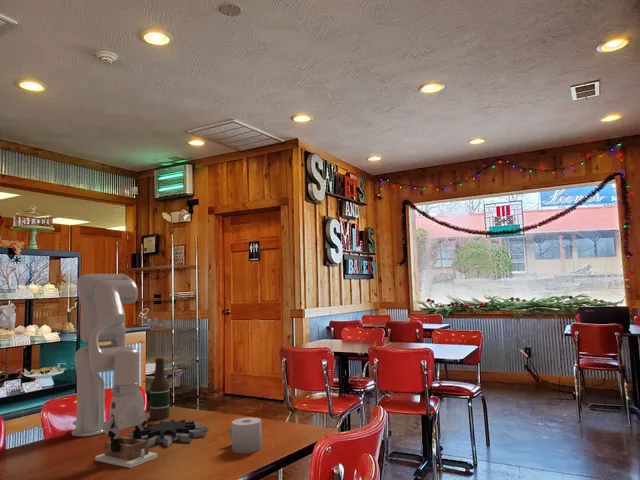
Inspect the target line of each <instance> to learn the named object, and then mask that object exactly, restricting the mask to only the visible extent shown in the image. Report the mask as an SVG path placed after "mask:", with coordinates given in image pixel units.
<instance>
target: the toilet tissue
mask: <svg viewBox="0 0 640 480" xmlns="http://www.w3.org/2000/svg"><path fill="white" fill-rule="evenodd" d="M230 424H231V427H230V428H229V429H228V430H226V432H227V434H228V436H229V437H230V438H231V451H232V452H233V453H234V454H243V455H245V454H253V453H256V452H258V451H260V450H261V449H262V448H263V439H262V437H263V436H262V434H263V433H262V431H263V430H262V419H260V418H258V417H251V416H250V417H240V418H236V419H233V421H231V423H230Z"/></svg>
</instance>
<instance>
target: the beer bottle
mask: <svg viewBox="0 0 640 480" xmlns="http://www.w3.org/2000/svg"><path fill="white" fill-rule="evenodd" d="M154 362H155V364H154V365H155V368H154V378H153V379H152V381H151V383H150V387H149V418H150V420H153V421H157V420H158V421H159V420H160V421H163V420H165V419H168V418H169V417H170V412H171V411H170V409H171V408H170V404H171V403H170V402H171V401H170V399H171V397H170V395H171V394H170V391H171V390H170V383H169V380H168V379H167V378H166V376H165V358H164V357H157V358H154Z"/></svg>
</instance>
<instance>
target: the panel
mask: <svg viewBox="0 0 640 480" xmlns="http://www.w3.org/2000/svg"><path fill="white" fill-rule="evenodd" d="M157 458H158V453H157V452H151V451H148V455H145V456H144V449H141V457H140V458H137V459H134V460H132V461H130V460H125V459H120V458H115V457H110V456H106V455H105V452H104V453H102V454H99V455H96V456H95V461H97V462H101V463H105V464H110V465H115V466H121V467H123V468H129V469H131V468H135V467H136V466H137V467H138V466H139V465H143V464H144V463H146V462H149V461H152V460H156V459H157Z"/></svg>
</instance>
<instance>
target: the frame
mask: <svg viewBox="0 0 640 480" xmlns="http://www.w3.org/2000/svg"><path fill="white" fill-rule="evenodd" d="M118 438H119V439H120V451H119V452H112V451H111V439H110V440H107V441H104V453H105V455H106V456H110V457H115V458H120V459H125V460H130V461H132V460H134V459H137V458H140V457H141V449H144V456H145V455H148V452H149V448H148V441H147V440H141V439H136V438H130V437H126V436H123V435H122V436H118Z"/></svg>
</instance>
